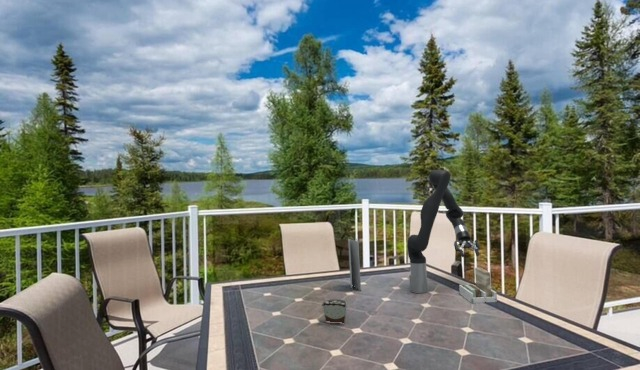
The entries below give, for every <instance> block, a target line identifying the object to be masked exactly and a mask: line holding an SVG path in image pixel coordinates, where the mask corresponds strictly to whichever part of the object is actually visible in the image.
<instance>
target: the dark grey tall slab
mask: <svg viewBox="0 0 640 370" xmlns="http://www.w3.org/2000/svg"><path fill="white" fill-rule="evenodd" d="M355 239H356V240H354V239H350V238H348V239H347V245H348V261H349V280H350V281H349V282H350V289H351V288H352V289H353V286H355V287H356V288H358V289H359V290H358V289H357V290H358V291H360V290H361V291H362V286H361V265H360V263H361V262H360V246H359V245H360V243H359V240H358V238H355ZM352 285H353V286H352ZM355 287H354V288H355ZM356 288H355V289H356Z"/></svg>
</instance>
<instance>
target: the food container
mask: <svg viewBox="0 0 640 370" xmlns="http://www.w3.org/2000/svg"><path fill="white" fill-rule="evenodd" d="M321 307H322V308H323V314H324V315H323V316H324V318H325V319H324V320H325V322H326V321H330V322H342V323H345V324H346V314H347V308H348V303H347V301H346V300H345V299H340V298H331V299H326V300H324V301H322V303H321Z"/></svg>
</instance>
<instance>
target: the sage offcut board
mask: <svg viewBox="0 0 640 370" xmlns="http://www.w3.org/2000/svg"><path fill="white" fill-rule="evenodd" d="M469 285H470V284H464V286H463V287H465V288H466V289H467V290H469V291H470V292H472V293H473V298H476V291H475V289H474V288H472V287H471V286H469Z"/></svg>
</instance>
